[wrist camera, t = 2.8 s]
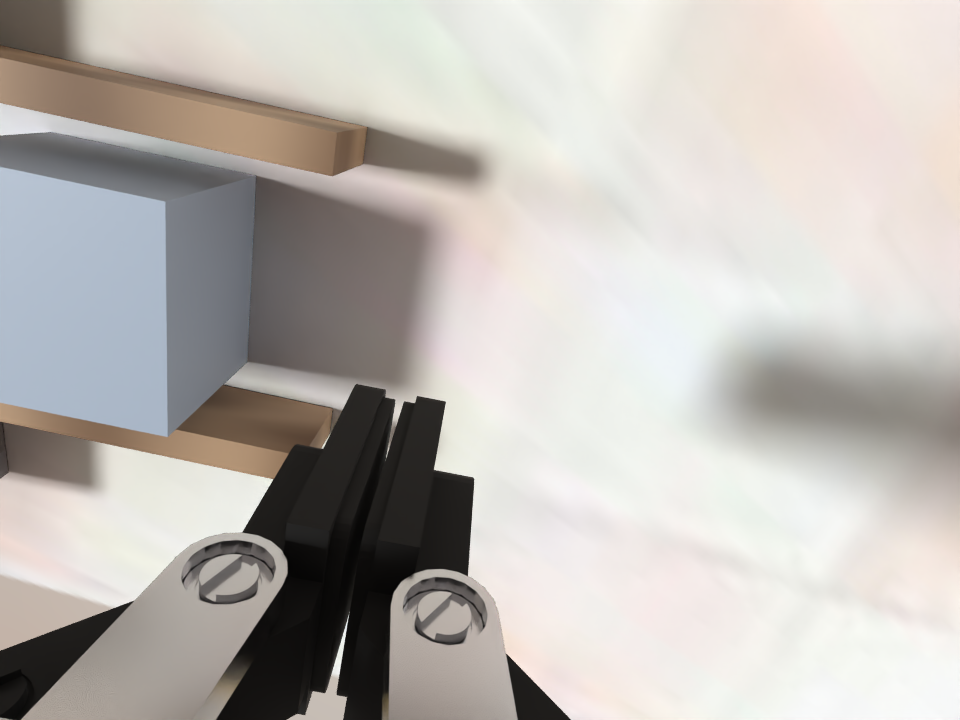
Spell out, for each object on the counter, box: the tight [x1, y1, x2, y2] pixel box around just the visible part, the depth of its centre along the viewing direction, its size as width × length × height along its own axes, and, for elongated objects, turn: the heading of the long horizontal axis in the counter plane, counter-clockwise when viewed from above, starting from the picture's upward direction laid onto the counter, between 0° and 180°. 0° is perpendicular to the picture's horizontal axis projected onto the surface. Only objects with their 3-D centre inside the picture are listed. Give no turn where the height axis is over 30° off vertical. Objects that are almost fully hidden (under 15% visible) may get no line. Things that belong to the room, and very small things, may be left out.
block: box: [0, 132, 256, 437], centre depth 17 cm, size 6×6×5 cm
